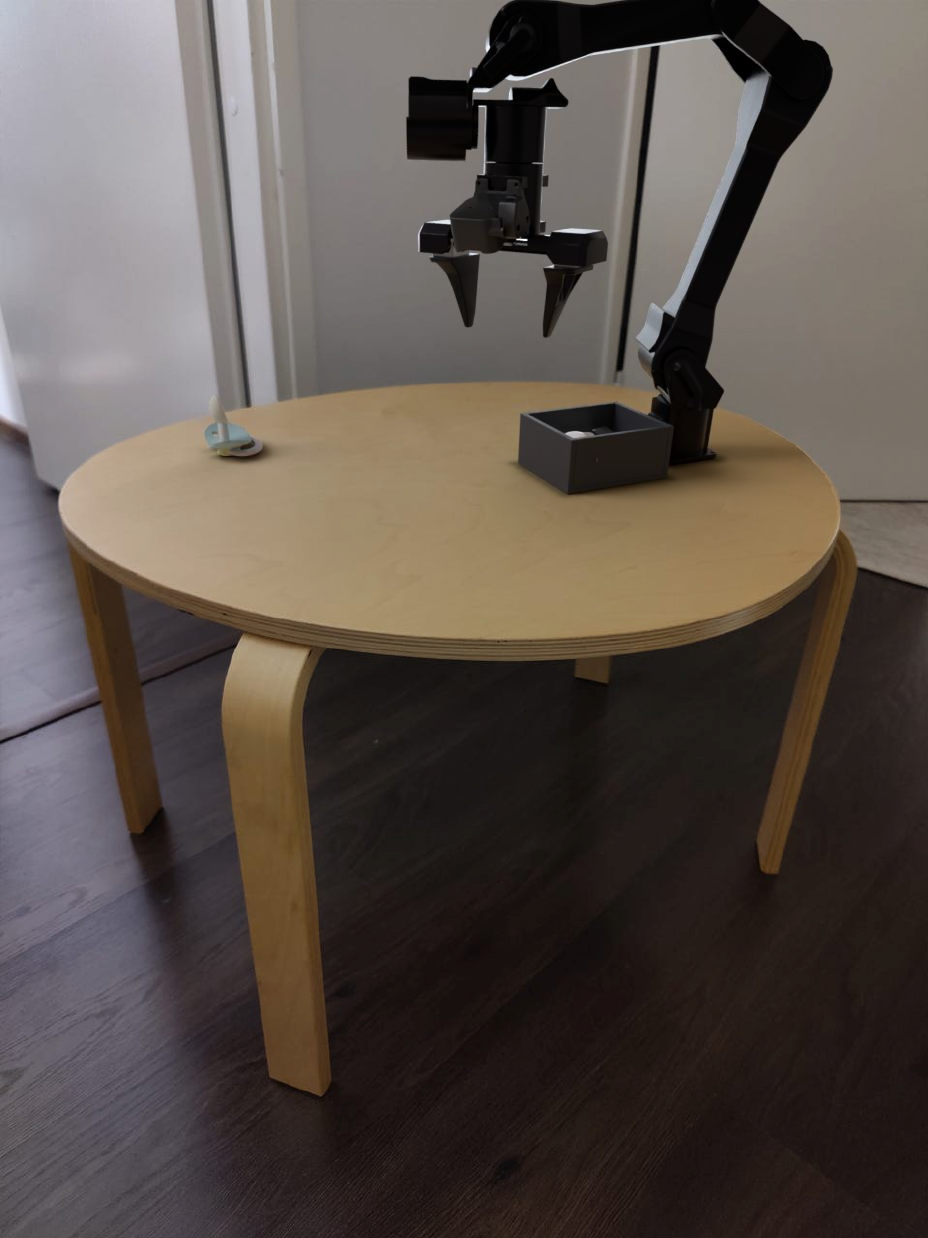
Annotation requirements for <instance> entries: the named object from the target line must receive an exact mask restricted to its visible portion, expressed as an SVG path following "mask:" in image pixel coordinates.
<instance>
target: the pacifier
mask: <svg viewBox="0 0 928 1238" xmlns="http://www.w3.org/2000/svg"><path fill="white" fill-rule="evenodd" d="M208 410H209V413H210V415H211V417H212V419H213V420H214V421H215V422H213V423H211V424H209V425H208V426H207V427H206V428H205V430H204V433H203V436H204V439H205V441H206V443H207V444H209V445H207V449H211V450H216V451H217V454H218V455H220V456H224V457H229V456H236V457H247V456H253V455H257V454H258V453H260V452H261V451H262V450H263V442H261V440H260V439H258V438H257V437H254V436H251V435H250V434H249V432H248V431H247V430H246V429H245V428H243V427H242V426H240V425H239V424H236V423H232V422H230V421H229V420H228V416H227V413H226V411H225V408H224V406H223V403H222V402H221V399H220V398H219V396H218V395H217V394H215V395H213V396H211V398H210V400H209V402H208ZM213 435H217V436H213ZM248 444H250V445H252V446H251V447H249V448H246V449H242V448H241V447H243V446H245V445H248Z"/></svg>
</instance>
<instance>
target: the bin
mask: <svg viewBox="0 0 928 1238" xmlns="http://www.w3.org/2000/svg"><path fill="white" fill-rule="evenodd" d="M595 425H606V426H607V427H608V428H609V429H611V430H612V431H613V433H608V434H601V435H594V436H586V437H579V438H572V437H570V436H568V435H566V434H565V433H567V432H572V431H577V430H581V429H584V428H588V427H591V426H595ZM673 430H674V426H672V425H670V424H667V423H665V422H663V421H660V420H658V419H656V418H654V417H651V416H649V415H648V413H644V412H642V411H640V410H637V409H635V408H633V407H630V406H629V405H626V404H623V403H621V402H619V401H609V402H602V403H593V404H586V405H576V406H567V407H561V408H552V409H544V410H535V411H527V412H520V415H519V433H518V434H519V435H518V436H519V437H518V455H517V464H518V465H520V466H521V467H523V468H525V469H527V471H530V472H531V473H533V474H534V475H536V476H537V477H539V478H541V479H542V480H544V481H546V482H547V483H549V484H551V485H552V486H553V487H555V488H557V489H558V490H560V491H561V492H563V493H565V495H572V494H578V493H584V492H590V491H597V490H601V489H607V488H615V487H620V486H625V485H632V484H638V483H645V482H649V481H656V480H662V479H667V478H668V472H669V466H670V464H669V459H670V452H671V444H672V437H673ZM596 456H597V461H596Z"/></svg>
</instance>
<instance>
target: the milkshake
mask: <svg viewBox="0 0 928 1238" xmlns="http://www.w3.org/2000/svg"><path fill="white" fill-rule="evenodd" d="M608 433H613V431H612V430H611V429H609V428H608V427H607V426H606V425H595V426H591V427H588V428H584V429H581V430H577V431H572V432H567V433H565V434H566V435H568V436H570V437H572V438H579V437H586V436H594V435H601V434H608ZM596 461H597V456H596Z"/></svg>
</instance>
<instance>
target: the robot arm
mask: <svg viewBox="0 0 928 1238" xmlns="http://www.w3.org/2000/svg"><path fill="white" fill-rule="evenodd" d="M702 39H703V40H704V39H707V40H709V41H710V42H711V43H712V44H713V45H714V46H715V48H716V49H717V50H718V52H719V54H720V55H721V56H722V58H723V60H724V61H725V63H726V64H727V65H728V67H729V69H730V70H731V71H732V72H733V74H735V75H736V77H738V78H739V80H740V81H741V82H742V83H743V84H744V87H743V91H742V96H741V99H740V104H739V107H738V114H737V124H736V133H735V134H736V135H735V143H734V147H733V150H732V153H731V155H730V157H729V161H728V162H727V165H726V167H725V170H724V173H723V175H722V177H721V180H720V182H719V185H718V187H717V190H716V192H715V194H714V197H713V199H712V202H711V204H710V206H709V209H708V211H707V214H706V217H705V219H704V222H703V224H702V227H701V229H700V230H699V234H698V236H697V238H696V241H695V244H694V246H693V248H692V250H691V253H690V256H689V258H688V261H687V263H686V266H685V269H684V271H683V273H682V275H681V278H680V281H679V283H678V285H677V287H676V290H675V291H674V292H673V294H672V296H671V297H670V298H669V299H668V301H666V303H665V304H664V305H663V306H662V307H661V306H660V305H657V304H656V303H654V302H652V303H650V305H649V308H648V310H647V315H646V318H645V323H644V326H643V327H642V329H641V331H640V332H639V333H638V334H637V335H636V337H635V340H636V342H638V343H639V346H638V350H637V358H638V361H639V364H640V367H641V368H642V369H643V371H644V372H646V374H647V375H648V376H649V377H650V378H651V379H652V384H653V387H654V389H655V390H657V391H658V392H659V394H658V395H657V396H653V397H652V398H651V404H650V405H651V406H650V411H649V412H648V413H647V415H649V416H651V417H654V418H656V419H658V420H660V421H663V422H665V423H667V424H670V425H672V426H674V430H673V437H672V444H671V452H670V459H669V465H670V464H671V465H677V464H683V463H689V462H694V461H700V460H707V459H713V458H714V459H715V458H717V456H718V455H717V454H718V452H717V451H715V450H713V449H710V448H709V443H710V436H711V431H712V423H713V417H714V412H715V409H716V408H717V407H718V404H719V403H720V401H721V400H722V398H723V395H724V394H725V389H724V388H723V386H721V384H720V383H719V382H718V381H717V379H716V378H715V377H714V375H712V374H711V372H710V371H709V369H707V368H706V367H707V363H708V359H709V356H710V351H711V348H712V344H713V339H714V330H715V320H716V319H715V318H716V311H717V306H718V303H719V301H720V298H721V296H722V293H723V292H724V289H725V287H726V285H727V282H728V280H729V277H730V275H731V273H732V271H733V268H734V267H735V264H736V262H737V260H738V256H739V255H740V253H741V250H742V248H743V245H744V243H745V241H746V238H747V236H748V234H749V232H750V229H751V227H752V224H753V222H754V220H755V218H756V215H757V213H758V211H759V208H760V206H761V204H762V201H763V199H764V197H765V194H766V192H767V190H768V187H769V185H770V183H771V180H772V178H773V176H774V174H775V171H776V169H777V166H778V164H779V162H780V160H781V159H782V157H783V156H784V155H785V153H786V152H787V151H788V149H789V148H790V147H791V146H792V145H793V144H794V143H795V141H796V140H797V139H798V137H799V136H800V135H801V134H802V133H803V132H804V131H805V129H806V128H807V126H808V125H809V123H810V121H811V119H812V118H813V116H814V115H815V113H816V112H817V110H818V108H819V107H820V104H821V103H822V102H823V100H824V99H825V97H826V95H827V93H828V91H829V89H830V86H831V83H832V80H833V75H834V68H833V66H832V62H831V58H830V55H829V53H828V52H827V49H825V48H824V46H823V45H821V44H819V43H818V42H817V41H815V40H810V39H807V38H806V39H803V38H802V36H801V35H800V34H799V33H797V31H796V30H795V29H794V27H792V26H791V25H790V24H789V23H788V22H786V20H784V19H782V18H781V17H779V15H777V14H776V13H775V12H774V11H772V10H771V9H770V8H768V7H767V6H766V5H764V4H763V3H762V2H761V1H760V0H616V1H615V0H614V1H608V2H602V3H601V2H600V3H594V4H587V3H576V2H569V1H562V0H510V1H508V2H507V3H505V4H504V5H503V6H502V7H500V8H499V10H498V12H496V14H495V16H494V17H493V19H492V21H491V23H490V25H489V28H488V29H487V33H486V37H485V52H486V53H485V55H484V56H483V57H482V58H481V61H480V62H479V63H478V65H477V67H476V66H475V67H474V66H472V67H471V68H470V70H469V79H468V80H467V79H432V78H429V77H425V76H417V75H416V76H415V75H411V76H409V77H408V81H407V82H408V83H407V84H408V85H407V86H408V94H407V95H408V96H407V99H408V100H407V103H408V105H407V106H408V107H407V108H408V109H407V112H408V113H407V116H405V130H406V131H405V133H406V134H405V135H406V137H405V138H406V139H405V140H406V161H411V162H412V161H413V162H416V161H418V162H420V161H421V162H463V163H465V162H466V160H467V151H477V150H478V145H479V121H480V120H479V119H480V117H479V113H480V111H479V109H480V108H484V109H485V110H484V143H483V144H484V146H483V147H484V148H483V149H484V150H483V174H482V173H481V174H479V173H478V174H476V179H475V182H474V192H473V196H472V197H469V198H467V199H466V200H464V201H463V202H462V203H461V204H459V206H457V207H456V208H455V209H454V210H453V211H451V213H449V215H448V216H449V219H441V220H433V221H427V222H426V221H425V222H423V224H422V226H421V227H420V229H419V231H418V234H417V252H419V253H423V254H432V255H430V256H428V259H429V261H430V263H434V264H436V265H438V267H440V269H441V270H442V271H443V272H444V273H445V276H447V278H448V282H449V283H450V285H451V289H452V291H453V294H454V297H455V300H456V303H457V306H458V310H459V313H460V316H461V319H462V323H463V325H464V327H465V328H467V329H468V328H469V329H470V328H472V327H473V326H474V321H475V315H476V311H477V310H476V308H477V297H478V295H477V294H478V283H479V270H480V258H481V254H483V255H492V254H495V253H498V252H507V253H519V254H531V255H543V256H547V258H548V260H549V261H550V262H551V263H552V265H548V266H545V267H543V268H542V271H543V275H544V278H545V279H544V280H545V282H546V287H545V288H546V289H545V295H544V296H545V297H544V299H545V300H544V308H543V315H542V316H543V317H542V337H543V338H544V339H548V338H550V337H551V336H552V334H553V332H554V329H555V328H556V325H557V323H558V321H559V319H560V316H561V315H562V313H563V310H564V309H565V306H566V304H567V302H568V300H569V298H570V295H571V294H572V292H573V290H574V289H575V287H576V285H577V284H578V282H579V281H580V279H581V277H582V276H583V274H584V273H587V272H589V271H594V265H596V264H601V263H604V262H607V259H608V250H609V249H608V248H609V242H608V238H607V236H606V234H605V232H604V230H602V229H589V228H587V229H586V228H573V227H571V228H565V229H559V230H557V229H556V230H553V231H551V233H550V234H543V233H546V229H547V227H546V226H547V221H546V220H542V218H541V217H542V203H543V188H547V187H549V177H550V175H549V174H544V165H545V164H544V162H545V145H546V129H547V111H548V110H547V109H555V110H557V109H558V110H559V109H564V108H567V107H568V106H569V103H570V102H569V101H570V100H569V99H568V98H567V97H566V96H565V95H564V94H563V92H562V91H561V90H560V89H559V87H558V85H557V83H556V80H555V78H554V77H550V78H548V79H546V81H545V83H544V84H543V85H542V86H540V87H539V86H538V87H537V86H535V87H534V86H533V87H532V86H510V88H509V94H508V99H487V98H486V99H484V98H483V99H479V98H478V99H477V98H474V93H488V92H490V91H491V90H493V89H494V88H495V87H497V86H498V85H499V84H500V83H502V82H503V81H504V80H508V81H514V82H515V81H516V82H519V81H523V80H526V79H529V78H531V77H532V78H533V77H534V76H537V75H540V74H542V73H545V72H548V71H551V70H553V69H556V68H559V67H561V66H565V65H567V64H570V63H572V62H575V61H577V60H581V59H583V58H586V57H588V56H589V57H590V56H595V55H603V54H609V53H616V52H621V51H628V50H636V49H643V48H649V47H650V48H651V47H656V46H662V45H670V44H677V43H683V42H691V41H696V40H702ZM470 251H474V252H481V254H480V253H474V252H470Z"/></svg>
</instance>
